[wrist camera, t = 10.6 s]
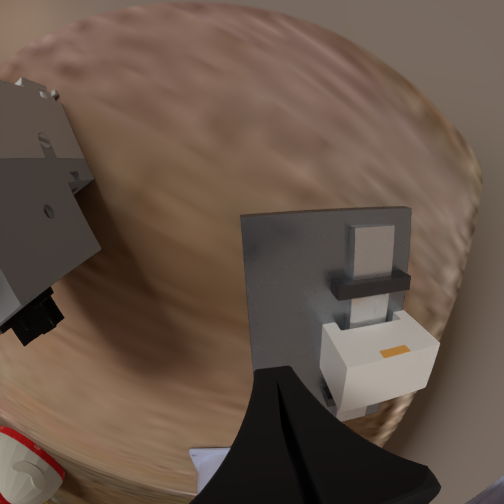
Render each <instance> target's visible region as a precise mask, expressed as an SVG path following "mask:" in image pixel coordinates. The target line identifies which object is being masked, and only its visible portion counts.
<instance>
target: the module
mask: <svg viewBox="0 0 504 504" xmlns="http://www.w3.org/2000/svg"><path fill="white" fill-rule="evenodd" d="M439 345H440V343H439V342H438V341H437V340H436V339H435V338H434V337H433V336H432V335H431V334H430V333H428V332H427V331H426V330H425V329H424V328H423V327H422V326H421V325H420V324H419V323H418V322H416V321H415V320H414V319H413V318H412V317H411V316H410V315H409V314H407V313H406V312H405V311H404V310H402V311H397V312H394V313H393V319H392V321H390V322H385V323H380V324H375V325H370V326H365V327H359V328H354V329H348V330H342V331H341V330H340V328H339V327H338V325H337V324H336V322H335V323H328V324H323V325H322V341H321V354H320V369H321V371H322V374H323V376H324V378H325V381H326V383H327V385H328V387H329V390H330V392H331V394H332V397H333V399H334V401H335V404H336V406H337V408H338V411H339V413H340V412H344V411H348V410H353V409H357V408H361V407H364V406H368V405H372V404H375V403H379V402H382V401H386V400H389V399H392V398H395V397H399V396H402V395H405V394H408V393H411V392H413V391H416V390H419V389H422V388H424V387H426V384H427V381H428V378H429V376H430V373H431V370H432V367H433V364H434V361H435V358H436V355H437V352H438V349H439Z"/></svg>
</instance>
